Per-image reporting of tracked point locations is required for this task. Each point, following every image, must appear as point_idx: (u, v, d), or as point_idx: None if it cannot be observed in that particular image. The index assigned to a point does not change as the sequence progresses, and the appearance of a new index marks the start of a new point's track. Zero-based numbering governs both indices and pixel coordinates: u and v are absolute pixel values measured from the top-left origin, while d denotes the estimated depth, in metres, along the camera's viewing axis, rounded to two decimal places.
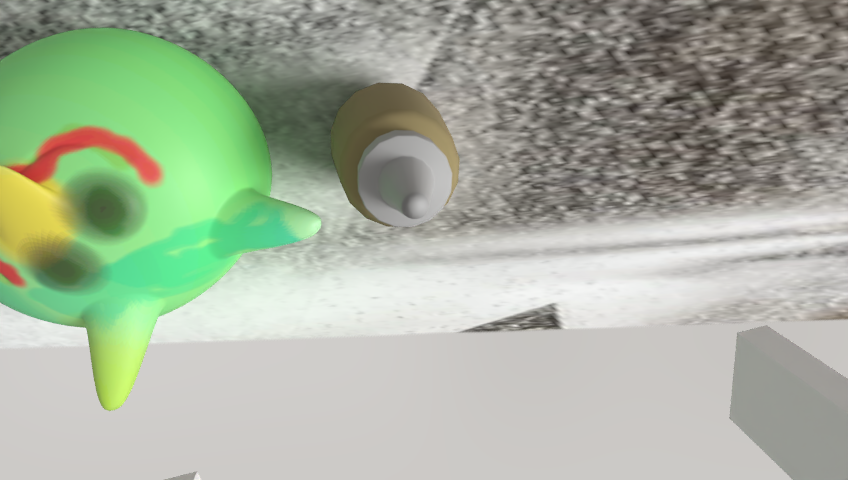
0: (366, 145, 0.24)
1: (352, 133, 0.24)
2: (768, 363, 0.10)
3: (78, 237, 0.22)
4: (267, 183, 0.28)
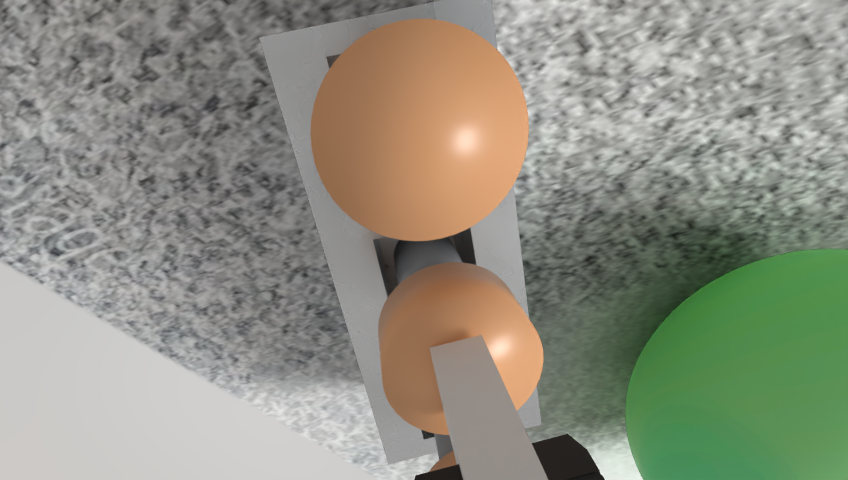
0: None
1: None
2: (463, 367, 0.12)
3: None
4: None
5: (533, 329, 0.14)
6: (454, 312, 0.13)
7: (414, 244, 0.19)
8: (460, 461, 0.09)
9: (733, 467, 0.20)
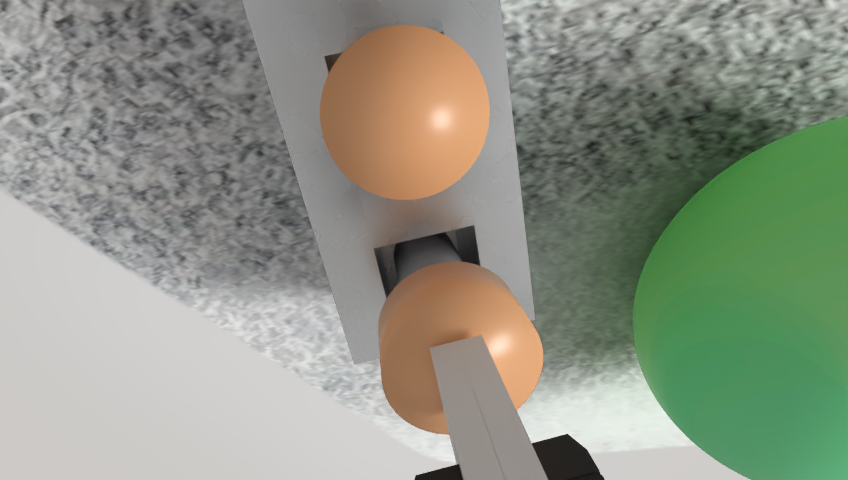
0: None
1: None
2: (463, 367, 0.12)
3: None
4: None
5: (477, 71, 0.13)
6: (392, 40, 0.12)
7: None
8: (460, 461, 0.09)
9: (768, 348, 0.17)
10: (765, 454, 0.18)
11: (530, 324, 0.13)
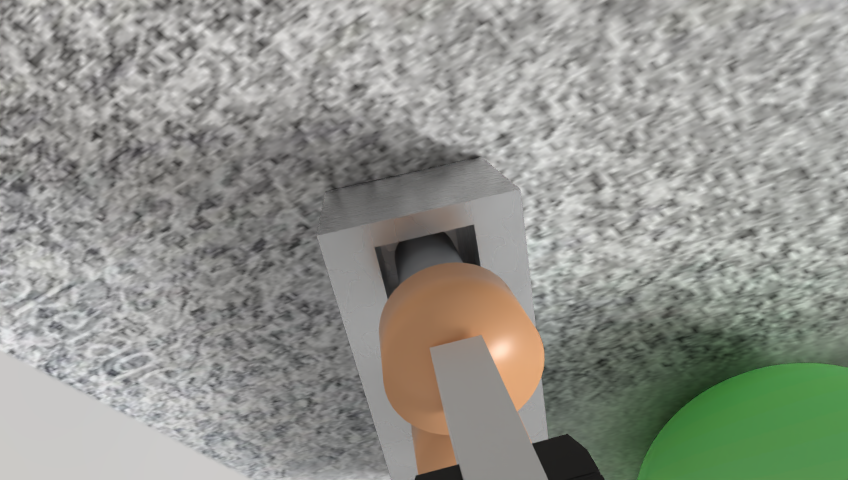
0: None
1: None
2: (464, 367, 0.12)
3: None
4: None
5: None
6: None
7: None
8: (460, 461, 0.09)
9: None
10: None
11: None
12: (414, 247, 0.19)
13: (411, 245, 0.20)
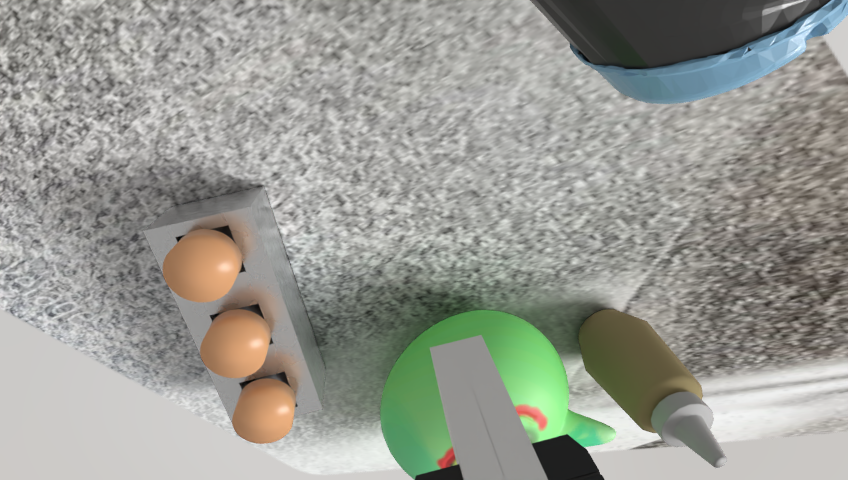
0: (657, 397, 0.40)
1: (646, 388, 0.40)
2: (463, 367, 0.12)
3: None
4: None
5: (258, 336, 0.36)
6: (224, 330, 0.35)
7: None
8: (460, 461, 0.09)
9: (400, 429, 0.39)
10: (411, 473, 0.41)
11: (284, 405, 0.38)
12: None
13: None
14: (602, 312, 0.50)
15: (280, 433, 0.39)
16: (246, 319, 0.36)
